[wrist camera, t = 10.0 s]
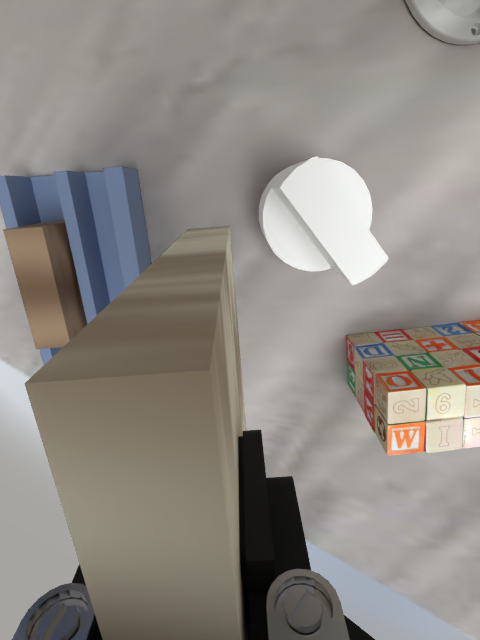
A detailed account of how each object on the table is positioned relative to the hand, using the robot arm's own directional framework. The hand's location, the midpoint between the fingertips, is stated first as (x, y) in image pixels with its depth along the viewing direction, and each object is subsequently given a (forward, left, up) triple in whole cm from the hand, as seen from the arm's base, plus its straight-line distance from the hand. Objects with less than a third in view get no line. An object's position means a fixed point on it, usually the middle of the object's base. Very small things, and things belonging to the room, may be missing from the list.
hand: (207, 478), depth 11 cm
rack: (-1, -13, -29) cm, 32 cm away
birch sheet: (0, 0, -10) cm, 10 cm away
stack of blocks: (+11, +23, -29) cm, 39 cm away
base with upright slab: (-5, +8, -29) cm, 31 cm away
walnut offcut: (-1, -15, -28) cm, 32 cm away
